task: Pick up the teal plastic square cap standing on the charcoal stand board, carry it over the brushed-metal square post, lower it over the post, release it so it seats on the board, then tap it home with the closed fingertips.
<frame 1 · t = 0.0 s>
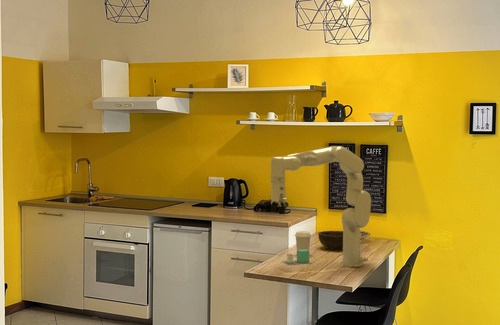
hand: (277, 212, 307), 31 cm above the table, fingers open, 9 cm apart
bowl: (335, 249, 371), on the table
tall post: (290, 265, 324), resting on stand board
stand board: (296, 264, 325), on the table
coffee cup: (302, 257, 345), on the table
cap: (302, 261, 327), point 1 cm above the table, touching stand board
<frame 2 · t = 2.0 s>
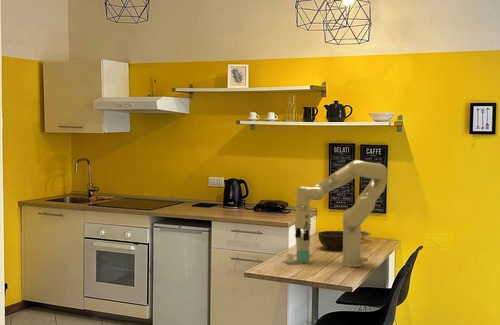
hand: (302, 238, 326), 14 cm above the table, fingers open, 9 cm apart
nothing on the table moved.
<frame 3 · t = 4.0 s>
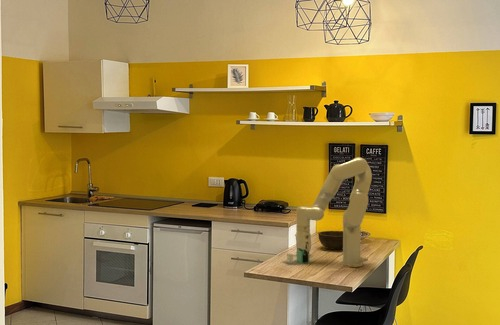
hand: (302, 260, 327), 2 cm above the table, fingers closed on cap, 5 cm apart
cap: (302, 261, 327), point 1 cm above the table, touching gripper, stand board
everything else where it was.
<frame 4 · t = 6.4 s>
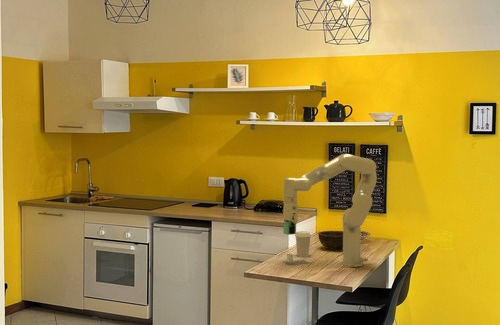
hand: (289, 232, 323), 18 cm above the table, fingers closed on cap, 5 cm apart
cap: (289, 233, 323), point 18 cm above the table, touching gripper
everything else where it was.
when the fingers open (3 cm above the table, at t = 9.1 s): cap stays where it is, resting on stand board.
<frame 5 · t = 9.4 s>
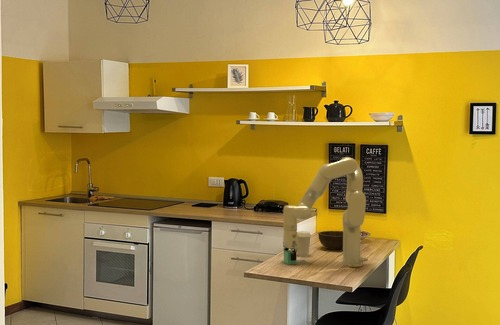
hand: (290, 258, 324), 4 cm above the table, fingers open, 8 cm apart
cap: (290, 263, 324), point 1 cm above the table, touching stand board
everything else where it was.
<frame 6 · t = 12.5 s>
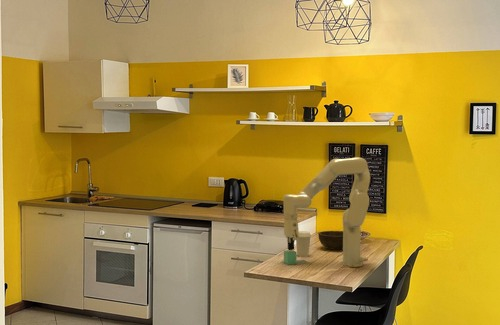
hand: (291, 249, 324), 9 cm above the table, fingers closed
nothing on the table moved.
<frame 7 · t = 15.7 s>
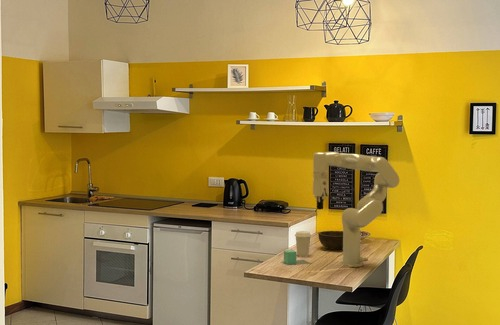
hand: (319, 209, 316), 32 cm above the table, fingers closed
nothing on the table moved.
at the end: cap 0.0 cm from the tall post (horizontally); cap point 1.2 cm above the table; cap tilted 0° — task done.
